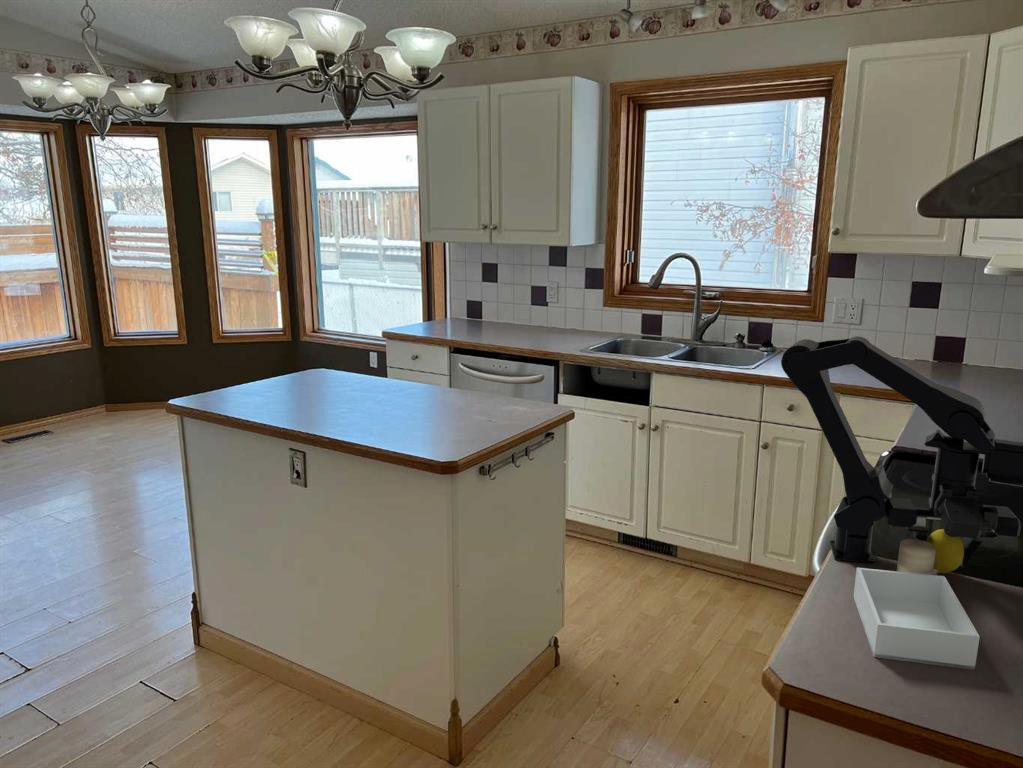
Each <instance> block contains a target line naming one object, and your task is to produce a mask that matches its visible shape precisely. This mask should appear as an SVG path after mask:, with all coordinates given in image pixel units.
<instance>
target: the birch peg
mask: <svg viewBox="0 0 1023 768" xmlns="http://www.w3.org/2000/svg"><path fill="white" fill-rule="evenodd" d="M935 554H936V548H935V547H934V546H933V545H932V544H930V543H928V542H925V541H922V540H917V539H915V538H905V539H903V540H901V541H900V542H899V551H898V556H897V565H896V572H906V573H916V574H926V575H933V574H934V561H935Z"/></svg>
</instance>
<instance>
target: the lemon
mask: <svg viewBox="0 0 1023 768" xmlns="http://www.w3.org/2000/svg"><path fill="white" fill-rule="evenodd" d="M962 541H963V539H962V537H950V536H948V535H946V534H945V532H944V528H941V529H937V530H935V531H933V532H931V533H930V535H928V536H927V542H928V543H930V544H932V545H933V546H934V547H935V548H936V554H935V561H934V568H933V570H936V571H937V572H938V573H939V574H945V573H946V572H947V573H949V572H953V571H955V570H957V569H958V568H959V567H960V566H961V565H960V564H961V563H962V561H963V557H964V546H963V542H962Z"/></svg>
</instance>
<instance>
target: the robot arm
mask: <svg viewBox="0 0 1023 768" xmlns="http://www.w3.org/2000/svg"><path fill="white" fill-rule="evenodd" d="M780 365H781V368H782V370H783V372H784V373H785V375H786V376H787V377H788V379H789V380H790V382H791V383H792V384H793V386H794V387H795V388H796V389H797V390H798V391H799V392H800V393H801V394H802V395H803V396H804V397H805V398H806V400H807V401H808V404H809V405H810V407H811V410H812V412H813V413H814V416H815V418H816V420H817V422H818V424H819V427H820V428H821V430H822V432H823V434H824V437H825V439H826V440H827V444H828V445H829V447H830V449H831V451H832V453H833V456H834V457H835V460H836V461H837V464H838V466H839V468H840V470H841V472H842V478H843V485H844V492H845V496H844V497H842V498H841V500H840V502H839V505H838V506H837V508H836V511H835V513H834V516H833V519H834V521H835V524H836V527H835V537H834V540H830V541H829V546H830V549H831V552H832V555H833V559H834V560H840V561H849V562H858V563H859V562H860V563H870V564H875V563H876V558H875V556H874V553H873V551H872V548H871V547H872V538H873V532H874V531H873V529H874V522H878V521H880V520H882V519H883V518H884V519H885V521H886V523H887V525H890V526H893V527H900V528H901V527H902V528H906V530H907V531H909V532H912V534H913V539H917V540H922V541H925V542H927V540H928V536H929V533H930V530H929V528H928V527H927V525H926V522H927V520H928V521H937V522H941V524H942V528H943V529H944V532H945V534H946V535H948V536H950V537H960V538H962V542H963V546H964V557H963V561H962V563H961V564H960V566H961V568H965V567H966V566H967V564H968V563H969V561H970V560H971V558H972V557H973V555H974V554H975V553H976V550H977V549H978V548H979V547H980V546H981V545H982V544H983V543H984V542H985V541H988V540H990V539H993V540H995V539H997V538H998V536H1005V537H1016V538H1017V537H1019V536H1021V529H1022V523H1021V520H1020V519H1019V518H1018V517H1017V516H1016V515H1015V513H1014V512H1013V511H1012V509H1010V508H1009V507H1008V506H1002V505H989V504H988V505H987V504H978V500H977V499H978V498H977V493H978V492H977V491H978V488H976V486H975V485H976V480H977V479H976V478H977V474H978V473H977V472H978V466H979V459H980V455H983V460H982V461H983V462H982V467H981V468H982V469H981V474H982V475H986V479H989V480H988V481H989V482H992V483H997V484H1004V485H1010V486H1016V487H1022V488H1023V441H1022V442H1021V441H1014V440H1006V439H998V438H996V434H995V433H994V430H992V428H991V426H990V425H989V424H988V422H987V421H986V419H985V417H986V413H985V408H984V405H983V404H982V402H981V401H980V400H979V399H977V397H974V396H972V395H969V394H967V393H964V392H962V391H960V390H957V389H955V388H952V387H948V386H945V385H941V384H939V383H936V382H933V381H932V380H931V379H929V378H927V377H926V376H924V375H922V374H921V373H919V372H917V371H916V370H914V369H912V368H911V367H909V366H908V365H906V364H904V363H903V362H901V361H900V360H898V359H897V358H895V357H893V356H892V355H890V354H888V353H886V352H885V351H884V350H882V349H881V348H879V347H877V346H875V345H874V344H873V343H871V342H870V341H869V340H868V339H867V338H865V337H863V336H859V335H858V336H853V337H850V338H843V339H832V340H824V341H819V342H818V341H815V340H813V339H809V338H808V339H807V338H804V339H800V340H797V341H796V342H795V343H793V344H792V345H791V346H790V347H788V348H787V349H786V350H785V352H783V354H782V356H781V360H780ZM849 365H854V366H856V367H857V368H858V369H860V370H862V371H863V372H864V373H867V374H868V375H870V376H871V377H873V378H874V379H876V380H877V381H879V382H881V383H882V384H884V385H886V386H888V387H889V388H891V389H892V390H893V391H895V392H896V393H899V394H900V395H901V396H902V397H904V398H906V399H908V400H910V401H911V402H912V403H914V404H915V405H916V406H918V407H919V408H920V409H921V410H922V411H923V412H924V413H925V414H926V415H927V417H928V418H929V419H930V420H931V421H932V422H933V423H934V424H935V425H936V426H937V427H939V428H938V429H936V430H935V432H933V433H932V434H930V435H927V436H926V437H925V441H924V445H925V447H929V448H936V449H937V451H936V458H935V464H934V472H933V473H932V476H931V481H932V486H931V487H932V488H931V494H930V496H929V498H928V504H929V507H922V506H915V505H914V504H913V502H912V501H911V499H909V498H903V497H902V498H899V497H892V490H893V487H894V484H892V482H891V481H890V480H889V479H888V478H887V475H886V471H885V468H884V466H883V465H879V466H877V467H874V466H873V465H872V464H871V463H870V462H869V461H868V460H867V458H866V457H865V454H864V453H863V451H862V448H861V446H860V444H859V442H858V439H857V437H856V435H855V433H854V432H853V430H852V427H851V425H850V423H849V420H848V419H847V416H846V414H845V413H844V410H843V408H842V406H841V404H840V403H839V400H838V398H837V396H836V394H835V391H834V390H833V388H832V386H831V385H832V384H831V378H830V371H829V370H830V369H835V368H839V367H843V366H849ZM941 430H942V431H941ZM943 432H944V433H943ZM945 434H946V435H945Z"/></svg>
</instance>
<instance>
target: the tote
mask: <svg viewBox="0 0 1023 768" xmlns="http://www.w3.org/2000/svg"><path fill="white" fill-rule="evenodd" d="M896 571H897V570H896ZM896 571H894V570H885V569H873V568H866V567H856V571H855V580H854V588H853V598H854V602H855V605H856V607H857V608H856V609H857V610H858V614H859V617H860V620H861V623H862V626H863V630H864V632H865V635H866V638H867V640H868V644H869V646H870V650H871V653H872V656H873V658H880V659H886V660H893V661H894V660H896V661H900V662H901V661H903V662H908V663H910V662H912V663H919V664H925V665H932V666H933V665H934V666H942V667H949V668H957V669H963V670H971V671H972V670H973V671H974V670H975V669H976V663H977V658H978V657H977V656H978V652H979V651H978V649H979V643H980V635H979V633H978V630H977V629H976V628H975V625H974V624H973V623H972V621H971V619H970V617H969V615H968V614H967V612H966V610H965V608H964V607H963V605H962V603H961V602H960V600H959V599H958V597H957V595H956V593H955V591H954V590H953V588H952V587H951V585H950V583H949V582H948V579H947V578H946V577H945V575H935V574H934V575H926V574H916V573H906V572H896Z"/></svg>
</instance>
